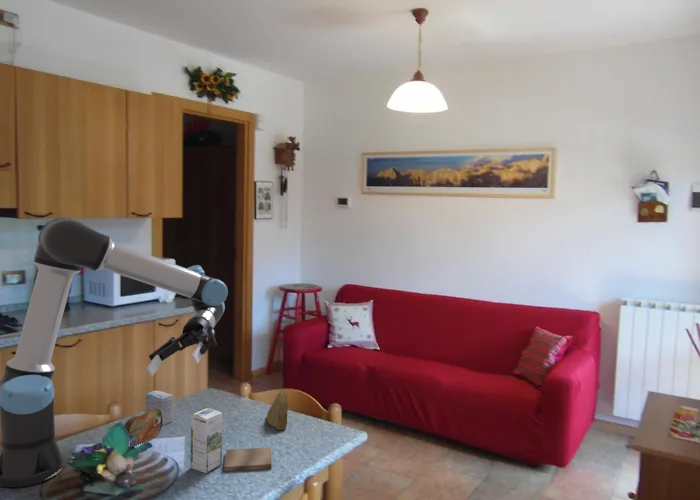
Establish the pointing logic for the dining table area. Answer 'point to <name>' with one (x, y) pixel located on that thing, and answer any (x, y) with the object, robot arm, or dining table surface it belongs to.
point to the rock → (278, 412)
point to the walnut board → (248, 459)
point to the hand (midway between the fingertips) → (171, 365)
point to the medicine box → (161, 404)
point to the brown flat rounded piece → (144, 426)
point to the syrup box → (206, 440)
